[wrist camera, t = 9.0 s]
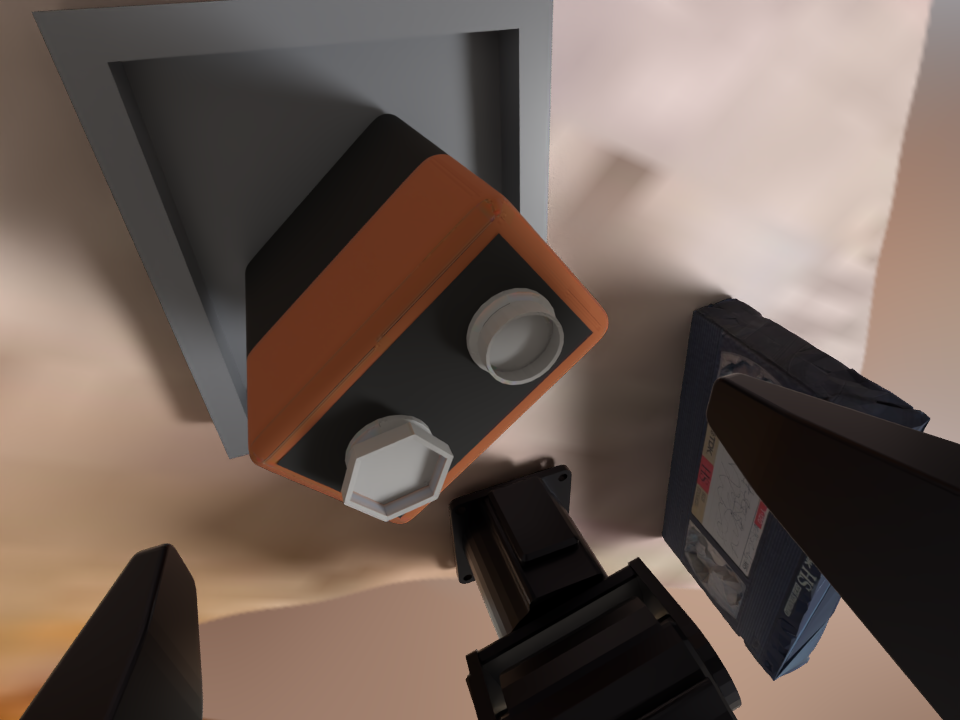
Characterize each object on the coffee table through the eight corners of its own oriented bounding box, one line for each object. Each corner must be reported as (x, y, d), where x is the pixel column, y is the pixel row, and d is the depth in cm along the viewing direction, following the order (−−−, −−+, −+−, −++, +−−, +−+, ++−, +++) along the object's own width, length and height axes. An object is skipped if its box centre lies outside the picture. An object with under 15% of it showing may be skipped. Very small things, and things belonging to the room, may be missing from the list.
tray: (523, 349, 23) (543, 374, 22) (230, 423, 20) (229, 459, 19) (522, -17, 16) (553, -19, 14) (57, 9, 13) (31, 11, 11)
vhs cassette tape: (690, 306, 26) (885, 438, 18) (741, 290, 26) (949, 412, 19) (653, 539, 36) (765, 686, 29) (690, 524, 37) (809, 663, 29)
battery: (236, 270, 17) (234, 504, 9) (383, 102, 16) (523, 202, 8) (345, 341, 19) (415, 570, 12) (476, 201, 18) (650, 350, 11)
